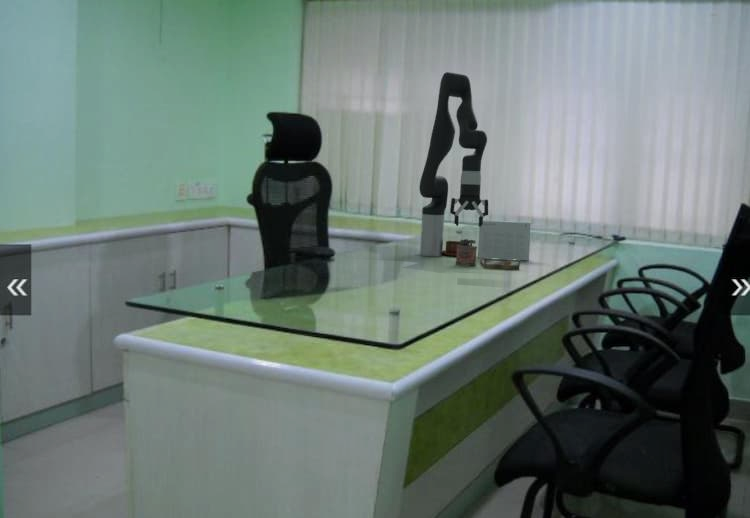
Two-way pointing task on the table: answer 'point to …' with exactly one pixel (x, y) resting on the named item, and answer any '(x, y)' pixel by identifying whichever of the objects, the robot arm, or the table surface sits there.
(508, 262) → the shelf board
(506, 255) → the skincare box
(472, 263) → the lighter
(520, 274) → the table surface
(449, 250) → the cup and saucer
